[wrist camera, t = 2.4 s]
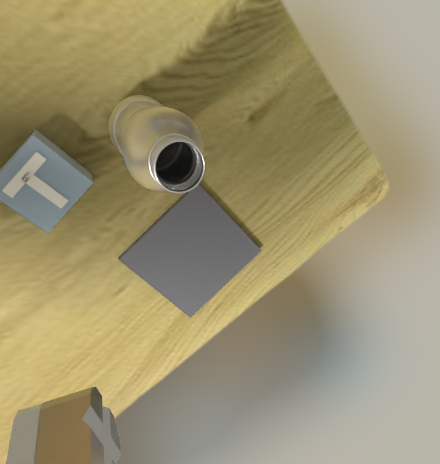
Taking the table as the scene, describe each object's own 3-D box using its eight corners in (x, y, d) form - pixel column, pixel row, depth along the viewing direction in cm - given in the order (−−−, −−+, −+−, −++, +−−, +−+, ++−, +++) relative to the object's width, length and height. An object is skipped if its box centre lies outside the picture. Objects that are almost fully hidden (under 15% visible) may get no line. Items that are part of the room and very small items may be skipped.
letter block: (49, 220, 47) (47, 234, 43) (-9, 179, 43) (-17, 191, 39) (91, 173, 46) (93, 183, 42) (36, 128, 43) (32, 135, 39)
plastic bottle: (114, 161, 46) (141, 225, 29) (99, 97, 43) (120, 124, 26) (171, 150, 48) (230, 204, 30) (161, 88, 45) (220, 107, 27)
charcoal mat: (189, 315, 57) (190, 317, 56) (118, 257, 50) (119, 259, 50) (259, 248, 56) (261, 250, 56) (197, 182, 50) (198, 183, 50)
